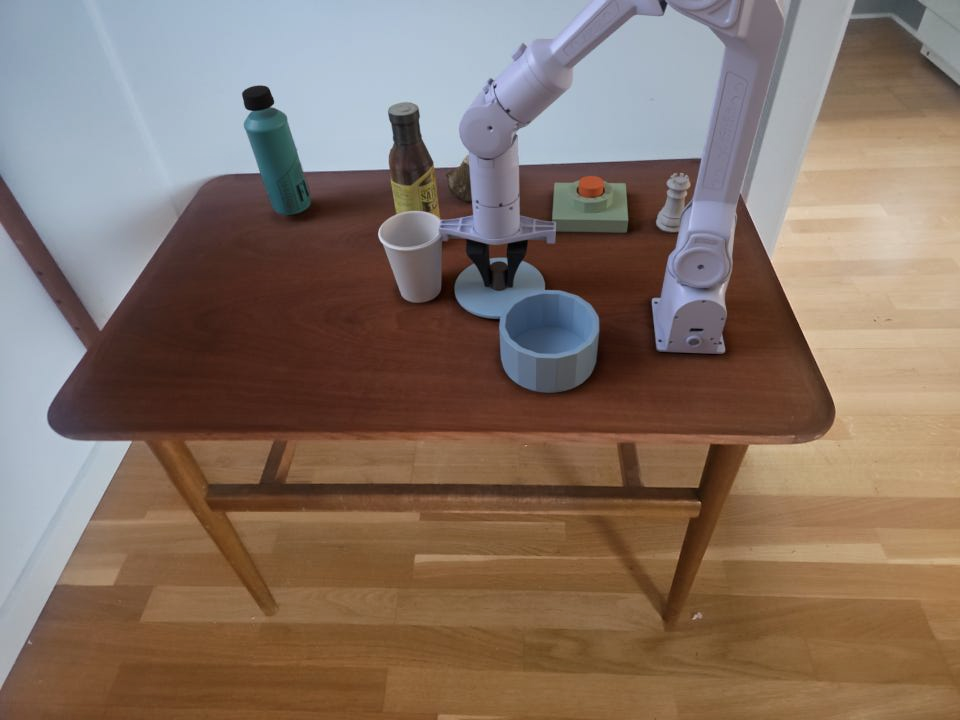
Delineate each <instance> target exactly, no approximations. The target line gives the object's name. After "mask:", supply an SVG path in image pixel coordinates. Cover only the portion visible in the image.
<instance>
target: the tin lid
mask: <svg viewBox="0 0 960 720" xmlns="http://www.w3.org/2000/svg"><path fill="white" fill-rule="evenodd" d="M507 279H508V263H507V257H492V258H490V287H485V285H484V282H483V279H482V277H481V274H480V272H479V270H478V269H477V267H476V265H475V264H474V263H471V265H469V266H468V267H466V268H465V269H463V270H462V272H460V274H459V275H458V276H457V278H456V280H455V283H454V288H453V289H454V296H455V299H456V301H457V302H458V304H459V305H460V307H462V308H463V309H464V310H466V312H468V313H470V314H472V315H475V316H478V317H480V318H484V319H485V318H486V319H492V320H493V319H494V320H500V318H501V314H502V312H503V311H504V310H505V308H506V307H507V306H508V304H509V303H510V302H512V301H513V300H515V299H517V298H518V297H520V296H522V295H524V294H527V293H531V292H535V291H539V290H546V282H545V279H544V276H543V275H542V273H541V271H539V269H538V268H536V267H535V266H534V265H532V264H531V263H528V262H526V261H523V260H522V262H521V263H520V265H519V267H518V269H517V271H516V274H515V277H514V282H513V287H512V288H508V287H507Z"/></svg>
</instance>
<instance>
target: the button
mask: <svg viewBox="0 0 960 720" xmlns="http://www.w3.org/2000/svg"><path fill="white" fill-rule="evenodd" d="M579 180H580V181H579ZM579 180H578V181H579V191H578V193H579V195H580V196H582V197H585V198H596V197H599V196H601V195H602V194H603V184H604V182H603V181H604V179H602V178H601V177H599V176H596V175H587V176H583V177H581V178H580V179H579Z"/></svg>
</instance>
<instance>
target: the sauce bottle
mask: <svg viewBox="0 0 960 720" xmlns="http://www.w3.org/2000/svg"><path fill="white" fill-rule="evenodd" d="M387 116H388V120H389V123H390V125H391V131H392V141H393V144H392V147H391V149H390V151H389V154H388V167H389V173H390V174H389V177H390V184H391V189H392V191H391V192H392V195H393V202H394V209H395V215H396V214H399V213H403V212H408V211H423V212H428V213H431V214H433V215H435V216H437V217H438V218H439V219H440V220H441V215H440V207H439V197H438V190H437V189H438V188H437V181H436V172H435V163H434V160H433V158H432V156H431V154H430V152H429V150H428V148H427V146H426V143H425V142H424V140H423V135H422V133H421V123H420V119H421V114H420V107H419V106H418V104H416V103H413V102H408V101H405V102H398V103H396V104H392V105H391V106H390V107H389V108H388V110H387Z"/></svg>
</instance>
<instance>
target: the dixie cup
mask: <svg viewBox="0 0 960 720" xmlns="http://www.w3.org/2000/svg"><path fill="white" fill-rule="evenodd" d="M440 220H441V218H440V219H439V218H438V217H437V216H435V215H433V214H431V213H428V212H423V211H408V212H403V213H399V214H396V213H395V215H392V216H391V217H389V218H388V219H386V220H385V221H384V222H383V223H382V224H381V225H380V227H379V229H378V233H377V234H378V235H377V236H378V239H379V241H380V243H381V244H382V245H383V249H384V251H385V254H386V256H387V259H388V262H389V265H390V268H391V270H392V273H393V276H394V279H395V282H396V284H397V287H398V289H399V293H400V295H401V297H402V298H403V299H404V300H406V301H408V302H410V303H415V304H421V303H426V302H429V301H432V300H434V299H435V298H436V297H437V296H439V294H440V293H441V291H442V290H441V289H442V262H443V261H442V260H443V241H440V238H441V235H440V234H439V231H438V228H439V224H440Z"/></svg>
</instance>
